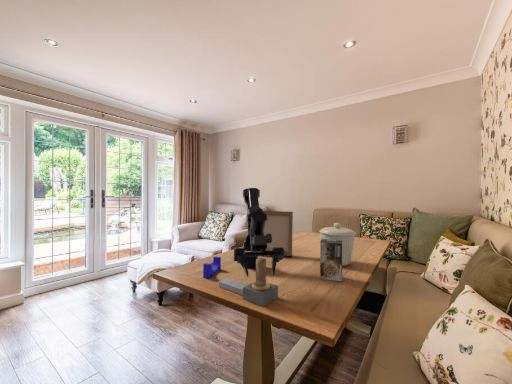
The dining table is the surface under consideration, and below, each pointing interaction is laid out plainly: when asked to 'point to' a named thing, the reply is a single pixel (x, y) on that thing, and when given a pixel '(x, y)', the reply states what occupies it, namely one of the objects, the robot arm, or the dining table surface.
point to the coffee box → (331, 259)
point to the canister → (340, 234)
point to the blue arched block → (211, 267)
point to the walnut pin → (260, 276)
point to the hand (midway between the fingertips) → (260, 275)
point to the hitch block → (250, 291)
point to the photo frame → (279, 230)
